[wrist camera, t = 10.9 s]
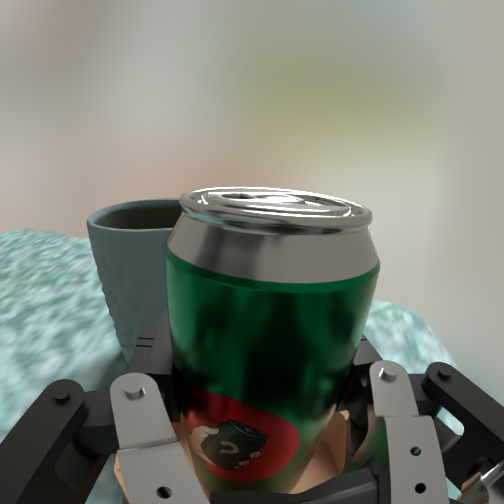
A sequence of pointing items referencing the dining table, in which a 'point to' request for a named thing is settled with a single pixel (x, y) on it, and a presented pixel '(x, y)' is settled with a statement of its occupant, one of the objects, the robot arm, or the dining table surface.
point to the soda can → (264, 326)
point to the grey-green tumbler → (133, 262)
